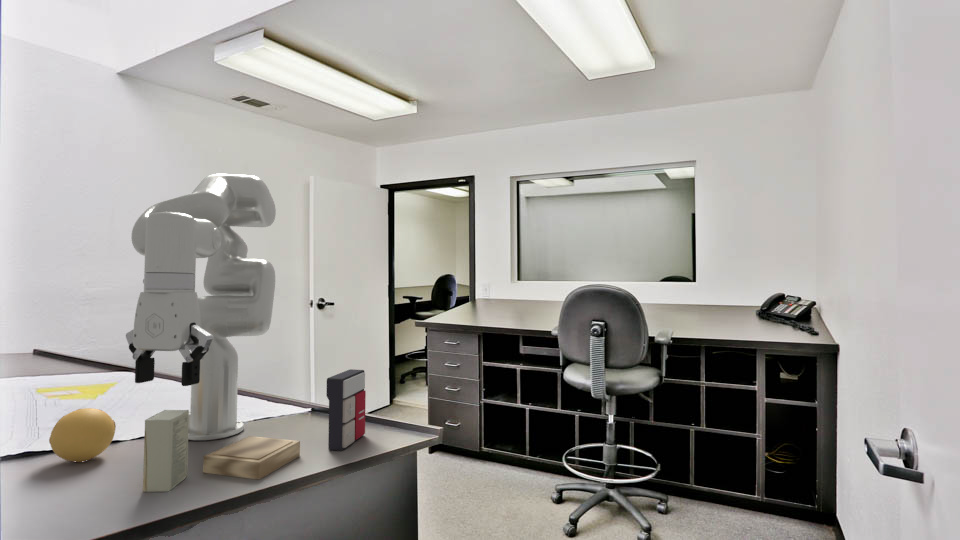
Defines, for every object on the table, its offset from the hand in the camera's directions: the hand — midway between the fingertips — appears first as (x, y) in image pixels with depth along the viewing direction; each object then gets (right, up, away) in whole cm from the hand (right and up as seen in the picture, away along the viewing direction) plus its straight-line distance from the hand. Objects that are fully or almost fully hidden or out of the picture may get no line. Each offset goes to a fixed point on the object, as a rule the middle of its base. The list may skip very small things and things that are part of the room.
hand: (167, 383), depth 84 cm
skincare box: (0, -18, 0) cm, 18 cm away
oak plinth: (+10, -18, +10) cm, 23 cm away
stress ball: (-23, -18, +11) cm, 31 cm away
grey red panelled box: (+25, -19, +23) cm, 38 cm away
